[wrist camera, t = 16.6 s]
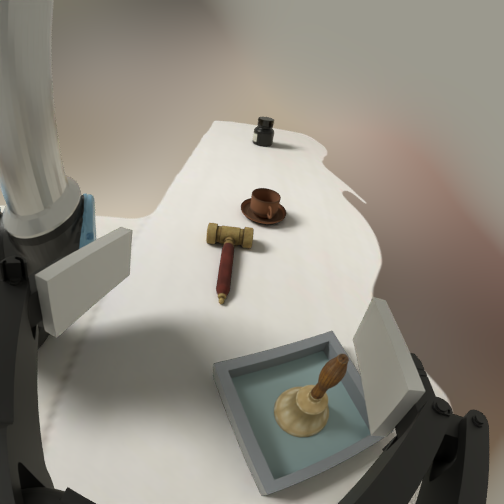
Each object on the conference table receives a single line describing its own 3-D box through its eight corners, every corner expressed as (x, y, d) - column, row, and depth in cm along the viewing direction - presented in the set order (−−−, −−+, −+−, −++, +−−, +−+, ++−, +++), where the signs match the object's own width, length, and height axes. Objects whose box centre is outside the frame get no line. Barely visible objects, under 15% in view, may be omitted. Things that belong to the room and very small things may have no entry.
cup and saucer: (293, 222, 76) (298, 202, 72) (255, 232, 70) (259, 211, 66) (268, 200, 83) (271, 181, 80) (231, 207, 78) (234, 187, 74)
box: (212, 375, 41) (213, 363, 38) (324, 343, 48) (332, 330, 45) (261, 495, 27) (267, 494, 24) (380, 438, 34) (393, 431, 31)
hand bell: (267, 430, 34) (300, 386, 24) (280, 381, 40) (312, 319, 30) (324, 442, 33) (380, 402, 23) (331, 393, 39) (380, 336, 29)
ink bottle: (256, 138, 128) (260, 114, 121) (274, 143, 127) (278, 119, 119) (249, 143, 121) (253, 118, 113) (268, 148, 119) (272, 122, 112)
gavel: (250, 298, 50) (193, 292, 49) (247, 313, 53) (193, 307, 52) (253, 223, 65) (209, 218, 64) (251, 239, 68) (208, 234, 68)
